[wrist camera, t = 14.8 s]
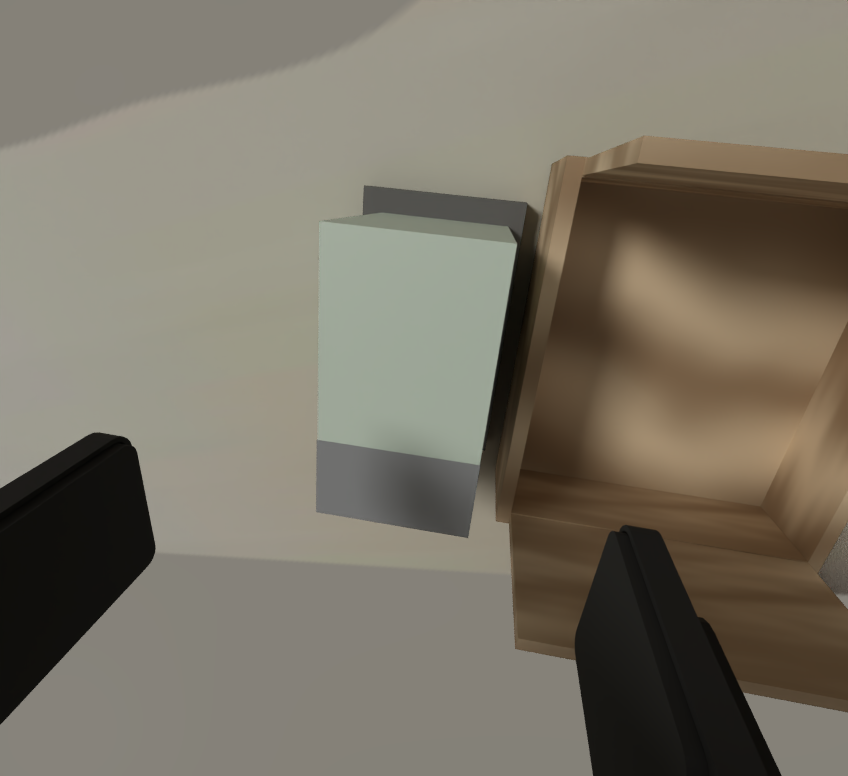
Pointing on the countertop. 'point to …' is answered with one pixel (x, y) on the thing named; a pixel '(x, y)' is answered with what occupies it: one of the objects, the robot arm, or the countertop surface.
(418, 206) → the rubber mat
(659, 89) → the countertop surface
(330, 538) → the countertop surface
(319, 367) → the capped box
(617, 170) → the wooden crate
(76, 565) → the robot arm
